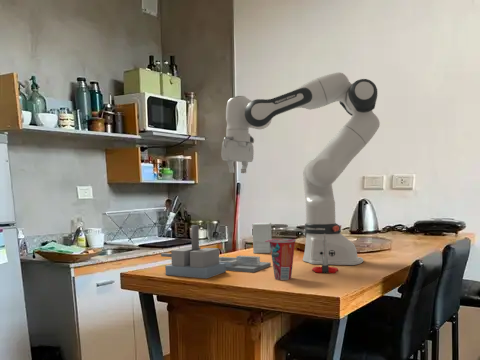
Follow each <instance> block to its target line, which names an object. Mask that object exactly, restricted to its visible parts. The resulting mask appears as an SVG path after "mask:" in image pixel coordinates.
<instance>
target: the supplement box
mask: <svg viewBox="0 0 480 360" xmlns="http://www.w3.org/2000/svg"><path fill="white" fill-rule="evenodd" d="M251 226H252V245H253V246H252V249H253V250H252V251H253V254H271V249H270V242H265V241H267V240H270V239H273V238H272V237H273V236H272V222H254V223H253V224H252V225H251Z"/></svg>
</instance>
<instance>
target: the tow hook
mask: <svg viewBox="0 0 480 360" xmlns="http://www.w3.org/2000/svg"><path fill="white" fill-rule="evenodd" d="M329 265H330V264H328V257H327V240H326V234H324V240H323V264H321V266H314V267H312V269H311V270H312V271H313V272H315V273H316V274H336V272H338V269H339V268H338V267H334V266H329Z"/></svg>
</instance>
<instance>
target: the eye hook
mask: <svg viewBox="0 0 480 360" xmlns="http://www.w3.org/2000/svg"><path fill="white" fill-rule="evenodd" d="M260 262H261V256H258V255H257V256H255V255H236V257H233V256H231V257H230V256H219V263H225V266H229V267H232V266H235V265H244V266H259V265H260Z"/></svg>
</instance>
